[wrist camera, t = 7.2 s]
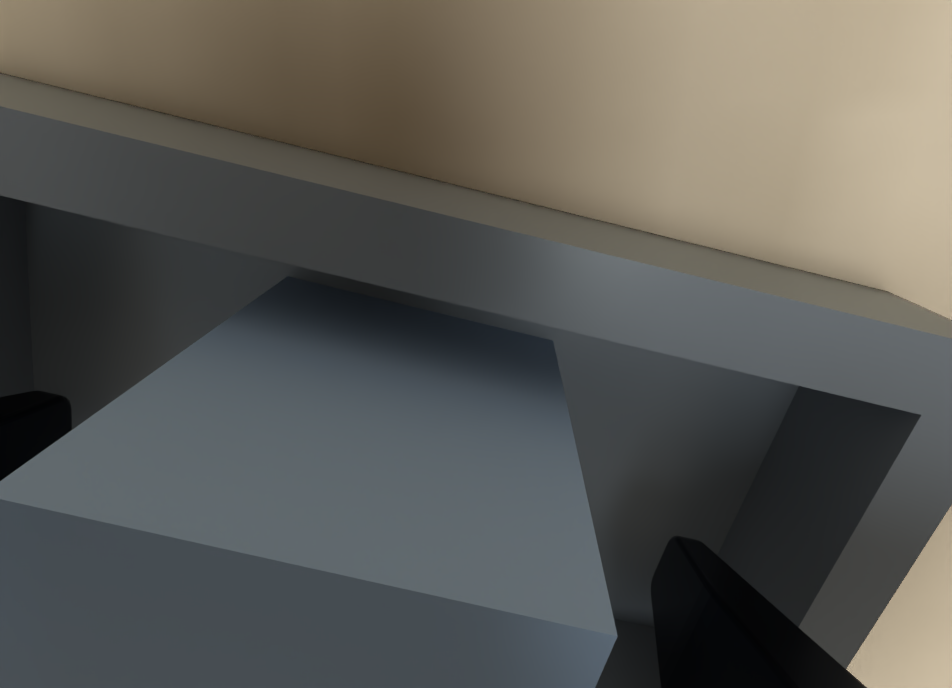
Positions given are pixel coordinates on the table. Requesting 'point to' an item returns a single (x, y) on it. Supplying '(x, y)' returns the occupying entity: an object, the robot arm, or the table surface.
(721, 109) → the table surface
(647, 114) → the table surface
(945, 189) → the table surface
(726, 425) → the tray
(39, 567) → the block
